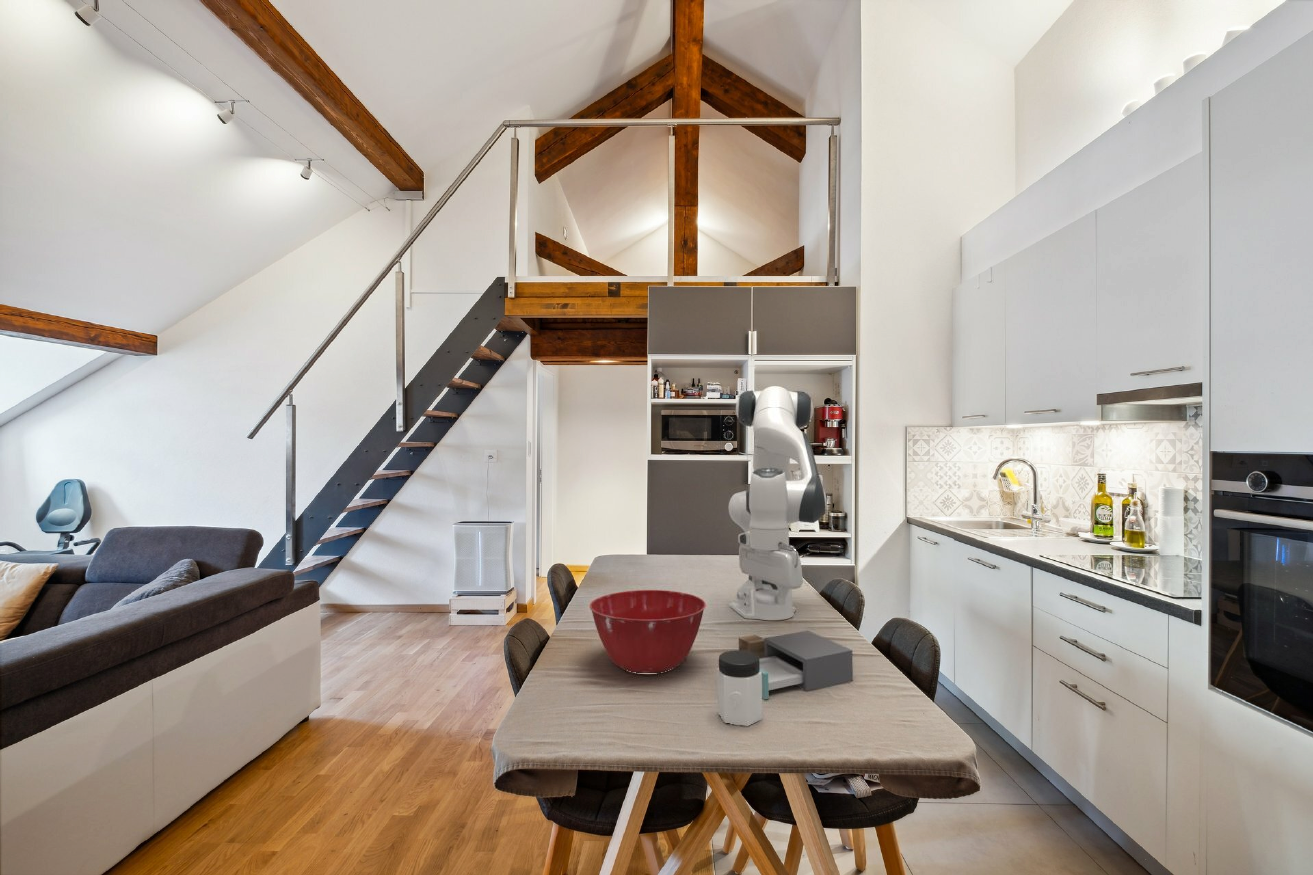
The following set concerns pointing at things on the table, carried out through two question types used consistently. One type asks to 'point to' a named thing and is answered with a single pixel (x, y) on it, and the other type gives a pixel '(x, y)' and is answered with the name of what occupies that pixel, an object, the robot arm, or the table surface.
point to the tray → (778, 674)
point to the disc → (766, 596)
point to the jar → (739, 687)
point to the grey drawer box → (812, 658)
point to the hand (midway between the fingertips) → (770, 600)
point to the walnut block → (752, 645)
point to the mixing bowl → (647, 628)
